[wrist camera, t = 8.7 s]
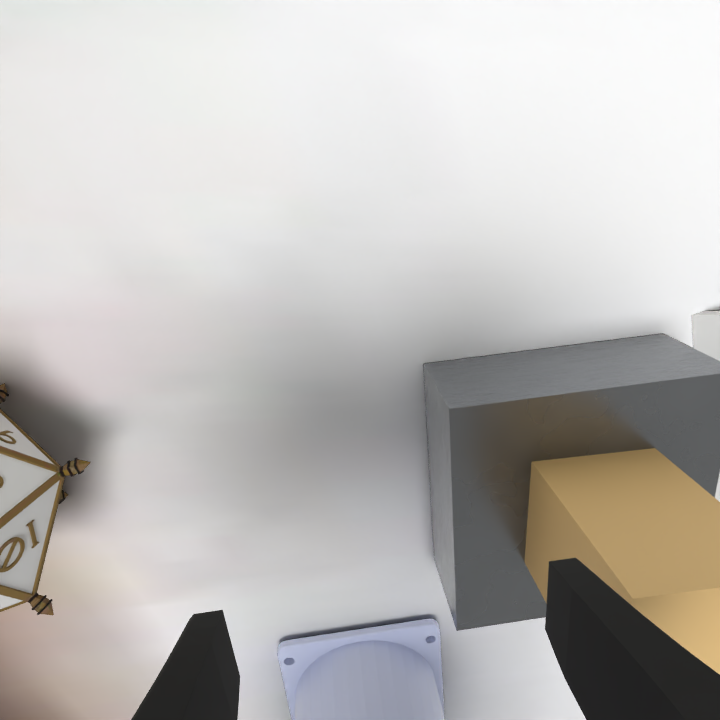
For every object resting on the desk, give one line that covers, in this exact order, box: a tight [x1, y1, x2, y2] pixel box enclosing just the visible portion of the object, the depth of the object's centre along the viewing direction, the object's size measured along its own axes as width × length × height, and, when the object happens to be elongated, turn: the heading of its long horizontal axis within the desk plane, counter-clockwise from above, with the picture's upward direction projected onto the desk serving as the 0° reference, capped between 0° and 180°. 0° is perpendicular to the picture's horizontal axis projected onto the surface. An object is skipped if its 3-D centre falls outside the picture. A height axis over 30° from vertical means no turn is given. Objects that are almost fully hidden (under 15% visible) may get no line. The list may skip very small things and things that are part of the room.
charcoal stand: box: [424, 334, 720, 631], centre depth 21 cm, size 10×10×4 cm
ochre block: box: [525, 448, 720, 674], centre depth 16 cm, size 4×4×6 cm
